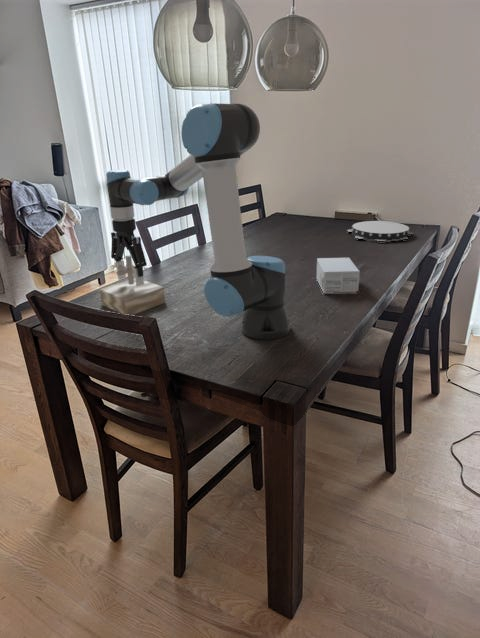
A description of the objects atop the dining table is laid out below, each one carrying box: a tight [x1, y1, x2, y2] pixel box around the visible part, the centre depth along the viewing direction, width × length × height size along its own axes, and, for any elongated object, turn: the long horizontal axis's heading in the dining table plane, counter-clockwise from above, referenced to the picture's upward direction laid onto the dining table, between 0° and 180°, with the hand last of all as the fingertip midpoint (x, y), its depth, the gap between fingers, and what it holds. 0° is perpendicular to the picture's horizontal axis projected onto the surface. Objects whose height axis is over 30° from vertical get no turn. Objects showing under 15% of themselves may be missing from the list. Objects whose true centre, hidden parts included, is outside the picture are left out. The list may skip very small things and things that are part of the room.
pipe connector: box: [116, 255, 136, 285], centre depth 164 cm, size 10×10×10 cm
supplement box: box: [316, 257, 361, 294], centre depth 179 cm, size 17×13×9 cm
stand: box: [99, 277, 166, 316], centre depth 168 cm, size 16×16×6 cm
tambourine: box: [346, 220, 413, 241], centre depth 251 cm, size 34×33×5 cm
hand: (131, 281), depth 165 cm, fingers closed on pipe connector, 10 cm apart
